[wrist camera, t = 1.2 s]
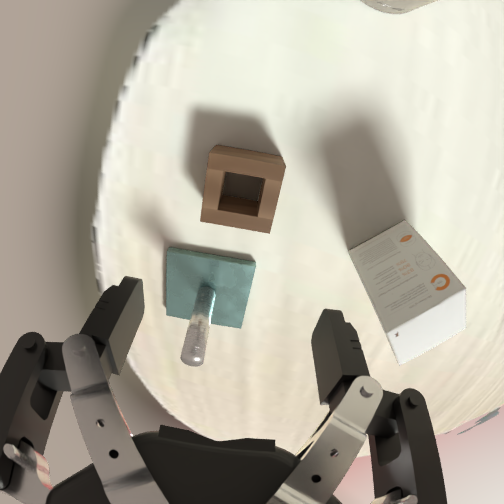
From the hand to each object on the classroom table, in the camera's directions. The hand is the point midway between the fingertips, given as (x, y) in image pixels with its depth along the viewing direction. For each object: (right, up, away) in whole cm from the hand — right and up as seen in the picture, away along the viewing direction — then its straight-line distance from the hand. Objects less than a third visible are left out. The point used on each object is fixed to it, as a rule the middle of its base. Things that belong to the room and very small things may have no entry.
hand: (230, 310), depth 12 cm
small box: (+17, +2, +19) cm, 26 cm away
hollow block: (0, +9, +15) cm, 18 cm away
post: (-4, -2, +22) cm, 23 cm away
